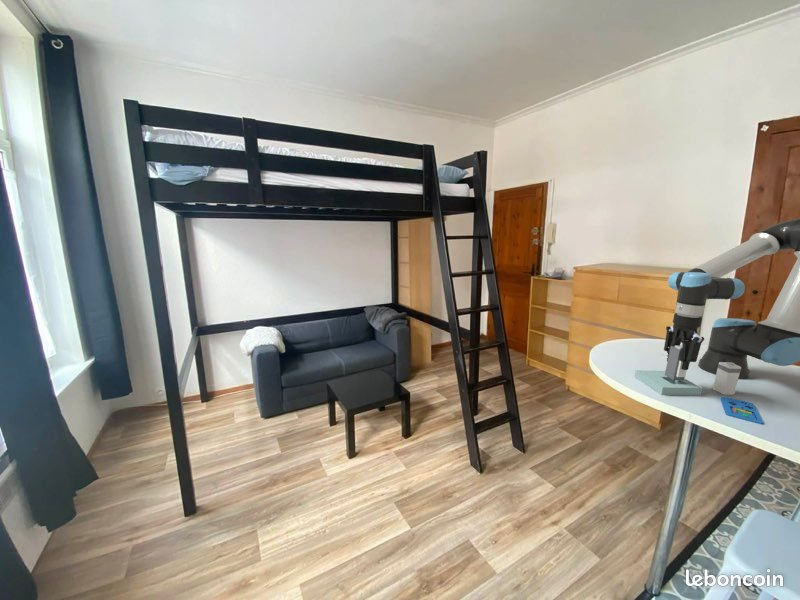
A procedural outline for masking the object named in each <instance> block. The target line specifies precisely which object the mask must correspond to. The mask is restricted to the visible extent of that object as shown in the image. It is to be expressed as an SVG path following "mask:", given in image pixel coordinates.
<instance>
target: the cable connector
mask: <svg viewBox="0 0 800 600" xmlns="http://www.w3.org/2000/svg"><path fill="white" fill-rule="evenodd" d="M717 368H718V369H717V373H716V374H715V377H714V381H713V384H712V385H713V386H712V390H714V391H716V392H717V393H720V394H721V395H735V392H736V388H737V385H738V381H739V379H740V378H739V374H740V371H741V367H740V366H738V365H735V364H734V363H730V362H719V364H718V367H717Z"/></svg>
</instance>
